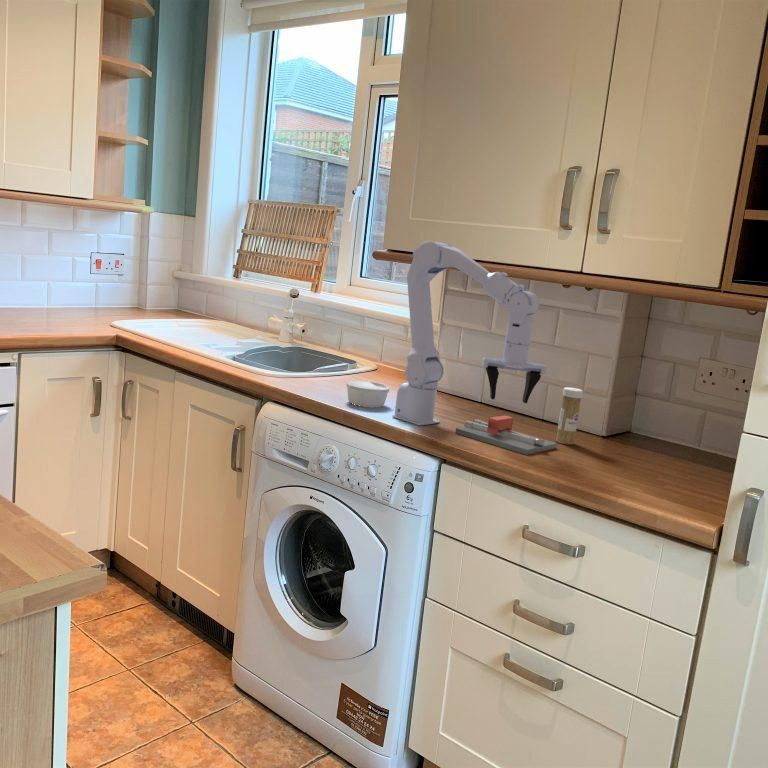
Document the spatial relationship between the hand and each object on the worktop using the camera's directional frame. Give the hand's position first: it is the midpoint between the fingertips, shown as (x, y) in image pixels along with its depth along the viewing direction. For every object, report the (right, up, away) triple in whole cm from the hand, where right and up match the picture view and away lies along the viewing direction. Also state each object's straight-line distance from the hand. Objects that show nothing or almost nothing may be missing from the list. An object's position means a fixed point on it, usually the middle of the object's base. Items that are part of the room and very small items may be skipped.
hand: (508, 400), depth 189 cm
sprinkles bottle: (+15, -11, +8) cm, 20 cm away
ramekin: (-34, -2, +26) cm, 42 cm away
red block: (-2, -8, +4) cm, 9 cm away
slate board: (0, -10, +3) cm, 10 cm away
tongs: (0, -8, +3) cm, 9 cm away
